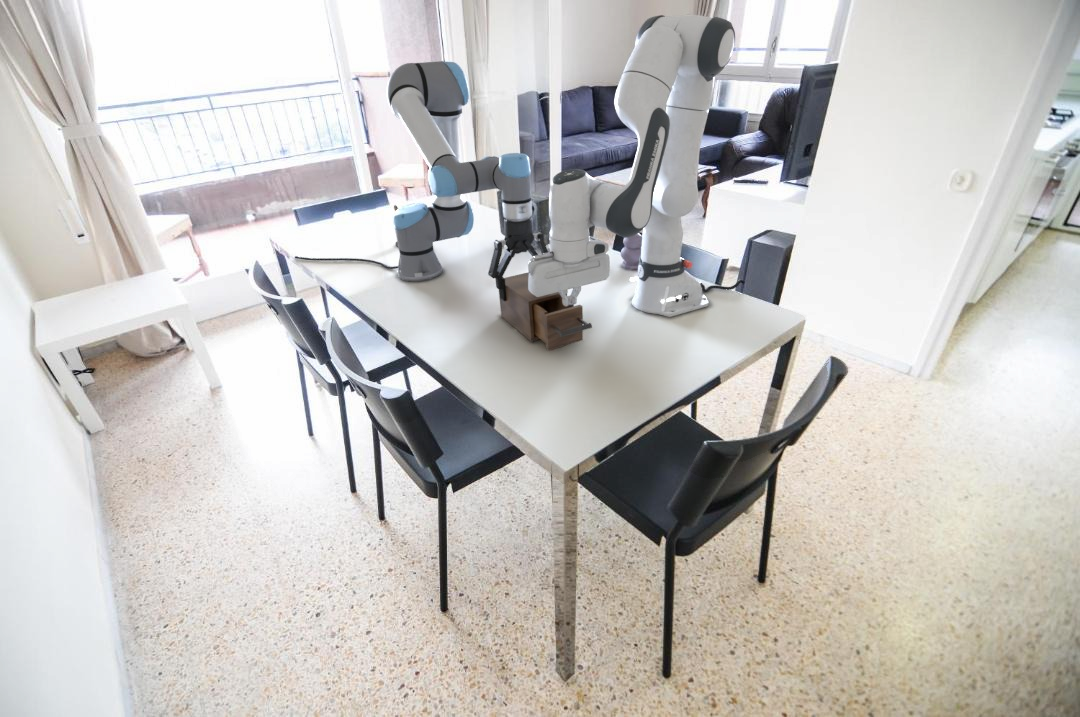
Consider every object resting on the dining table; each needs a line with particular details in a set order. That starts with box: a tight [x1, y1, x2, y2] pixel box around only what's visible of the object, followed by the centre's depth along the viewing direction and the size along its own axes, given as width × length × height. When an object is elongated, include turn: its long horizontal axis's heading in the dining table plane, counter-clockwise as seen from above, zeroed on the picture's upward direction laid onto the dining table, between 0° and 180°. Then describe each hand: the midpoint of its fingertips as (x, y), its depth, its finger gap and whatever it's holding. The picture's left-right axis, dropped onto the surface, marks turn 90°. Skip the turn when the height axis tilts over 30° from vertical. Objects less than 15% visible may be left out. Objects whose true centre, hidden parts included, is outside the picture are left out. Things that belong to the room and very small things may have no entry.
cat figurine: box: [620, 232, 642, 271], centre depth 172 cm, size 9×8×12 cm
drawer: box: [532, 297, 593, 351], centre depth 128 cm, size 23×10×10 cm, turn 28°
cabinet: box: [498, 271, 568, 342], centre depth 137 cm, size 19×11×12 cm, turn 28°
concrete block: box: [496, 189, 551, 249], centre depth 194 cm, size 27×9×20 cm, turn 36°
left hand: (522, 294), depth 141 cm, fingers closed on cabinet, 11 cm apart
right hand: (569, 304), depth 118 cm, fingers closed
